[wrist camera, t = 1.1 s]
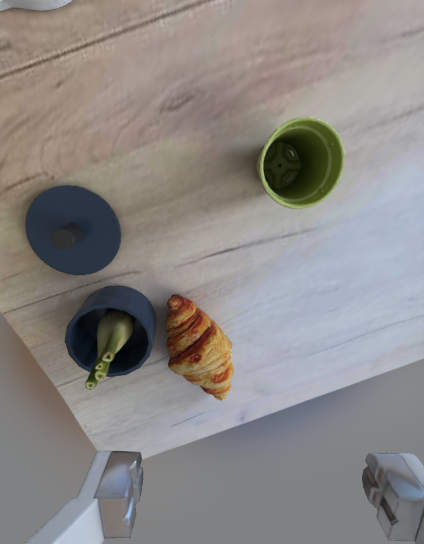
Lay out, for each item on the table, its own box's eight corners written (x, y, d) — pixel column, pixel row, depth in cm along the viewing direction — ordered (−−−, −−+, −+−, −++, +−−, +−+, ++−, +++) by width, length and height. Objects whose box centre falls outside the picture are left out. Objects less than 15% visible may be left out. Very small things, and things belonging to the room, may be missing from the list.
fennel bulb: (112, 340, 45) (90, 397, 34) (92, 317, 43) (62, 369, 32) (143, 322, 44) (131, 374, 33) (124, 298, 43) (105, 343, 32)
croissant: (233, 370, 54) (262, 390, 47) (191, 408, 50) (216, 436, 43) (186, 275, 46) (213, 283, 39) (132, 311, 42) (151, 326, 35)
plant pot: (276, 215, 41) (300, 226, 33) (229, 168, 39) (242, 168, 30) (324, 164, 40) (361, 162, 32) (278, 111, 37) (306, 94, 29)
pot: (66, 326, 44) (48, 350, 38) (107, 271, 41) (95, 287, 36) (129, 361, 47) (121, 389, 41) (170, 312, 45) (168, 333, 39)
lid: (12, 238, 39) (-12, 247, 34) (59, 165, 36) (41, 164, 31) (91, 287, 42) (80, 302, 37) (139, 224, 40) (133, 231, 35)
